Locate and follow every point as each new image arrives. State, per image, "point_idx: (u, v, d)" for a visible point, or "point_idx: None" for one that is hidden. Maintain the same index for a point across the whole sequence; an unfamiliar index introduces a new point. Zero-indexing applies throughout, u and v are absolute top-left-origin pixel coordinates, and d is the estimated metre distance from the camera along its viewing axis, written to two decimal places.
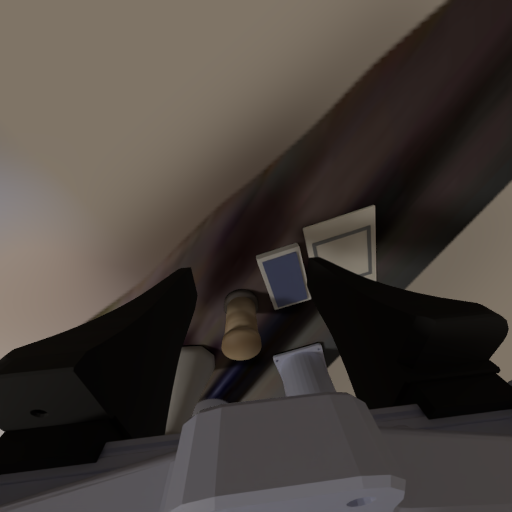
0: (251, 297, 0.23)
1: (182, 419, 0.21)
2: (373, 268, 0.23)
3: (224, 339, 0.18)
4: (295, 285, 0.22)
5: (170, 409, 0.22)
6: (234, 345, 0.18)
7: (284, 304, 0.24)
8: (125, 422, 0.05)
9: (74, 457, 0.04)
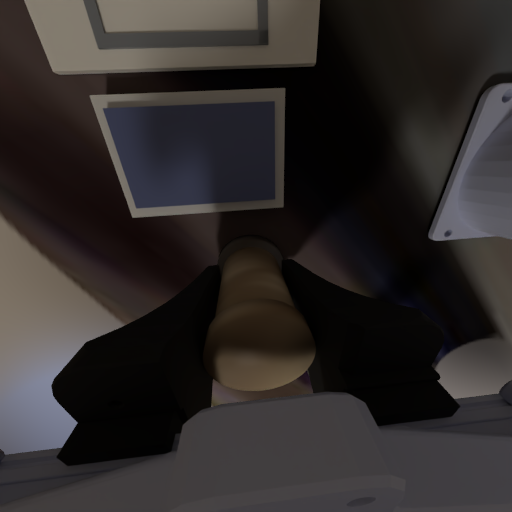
0: (231, 248, 0.11)
1: None
2: None
3: None
4: (214, 134, 0.08)
5: None
6: (245, 369, 0.07)
7: (270, 179, 0.09)
8: (188, 414, 0.05)
9: (74, 457, 0.04)
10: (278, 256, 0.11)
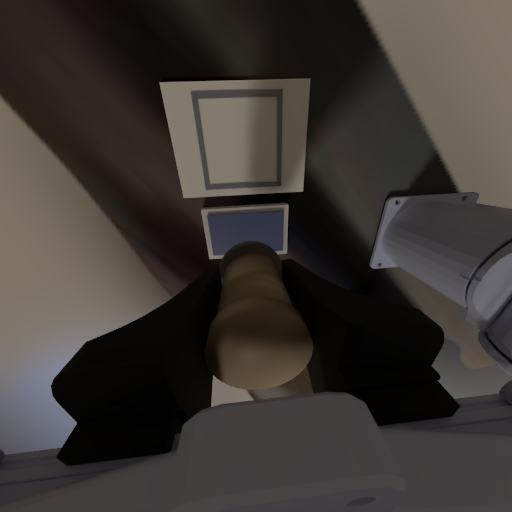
0: (232, 254, 0.11)
1: None
2: (273, 85, 0.14)
3: None
4: (255, 224, 0.17)
5: None
6: (245, 366, 0.07)
7: (280, 242, 0.18)
8: (188, 414, 0.05)
9: (74, 457, 0.04)
10: (277, 261, 0.12)
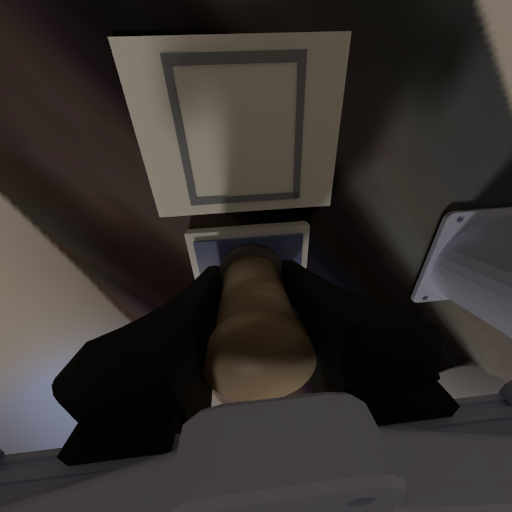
0: (231, 257, 0.11)
1: None
2: (292, 43, 0.09)
3: None
4: None
5: None
6: (246, 380, 0.07)
7: None
8: (189, 414, 0.05)
9: (74, 457, 0.04)
10: (278, 264, 0.11)
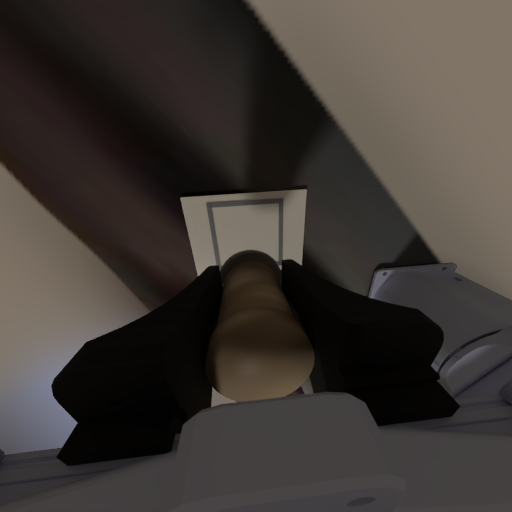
0: (231, 263, 0.11)
1: None
2: (275, 195, 0.16)
3: None
4: None
5: None
6: (246, 379, 0.07)
7: None
8: (188, 414, 0.05)
9: (74, 457, 0.04)
10: (276, 269, 0.12)
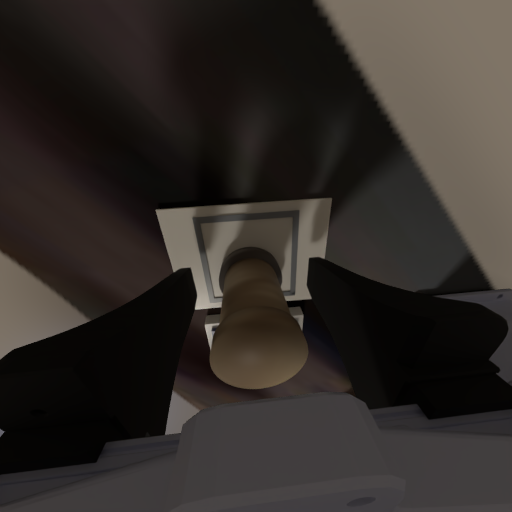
0: (232, 260, 0.12)
1: None
2: (288, 207, 0.12)
3: None
4: None
5: None
6: (247, 369, 0.08)
7: None
8: (125, 422, 0.05)
9: (74, 457, 0.04)
10: (275, 266, 0.12)
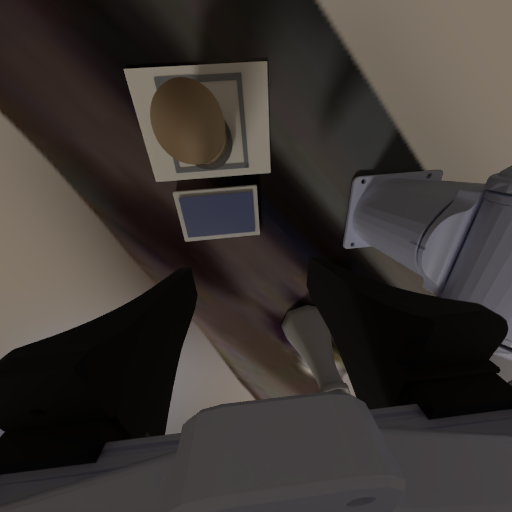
0: None
1: (321, 372, 0.20)
2: (232, 69, 0.14)
3: None
4: (225, 205, 0.18)
5: (312, 372, 0.22)
6: (180, 136, 0.10)
7: (252, 223, 0.19)
8: (125, 422, 0.05)
9: (74, 457, 0.04)
10: (224, 124, 0.15)
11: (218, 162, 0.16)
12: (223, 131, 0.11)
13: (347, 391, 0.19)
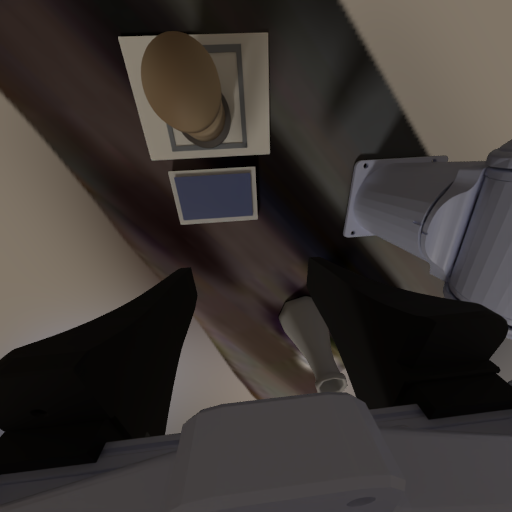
0: None
1: (318, 362, 0.19)
2: (231, 40, 0.14)
3: (159, 116, 0.10)
4: (222, 186, 0.17)
5: (309, 363, 0.21)
6: (173, 99, 0.10)
7: (250, 206, 0.18)
8: (125, 422, 0.05)
9: (74, 457, 0.04)
10: (222, 98, 0.15)
11: (215, 140, 0.16)
12: (218, 94, 0.10)
13: (344, 382, 0.18)
